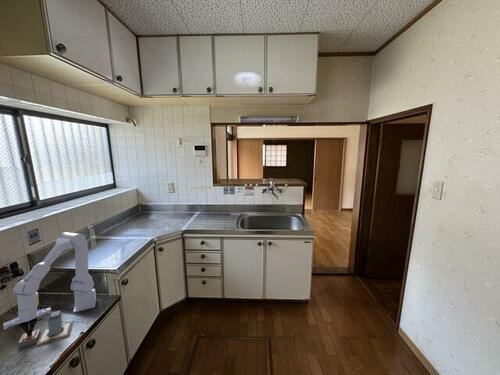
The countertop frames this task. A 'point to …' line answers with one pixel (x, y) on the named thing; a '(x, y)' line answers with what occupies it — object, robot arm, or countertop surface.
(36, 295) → the supplement bottle
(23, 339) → the button
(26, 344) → the button housing
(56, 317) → the grey rectangular block
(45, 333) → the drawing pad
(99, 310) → the countertop surface
